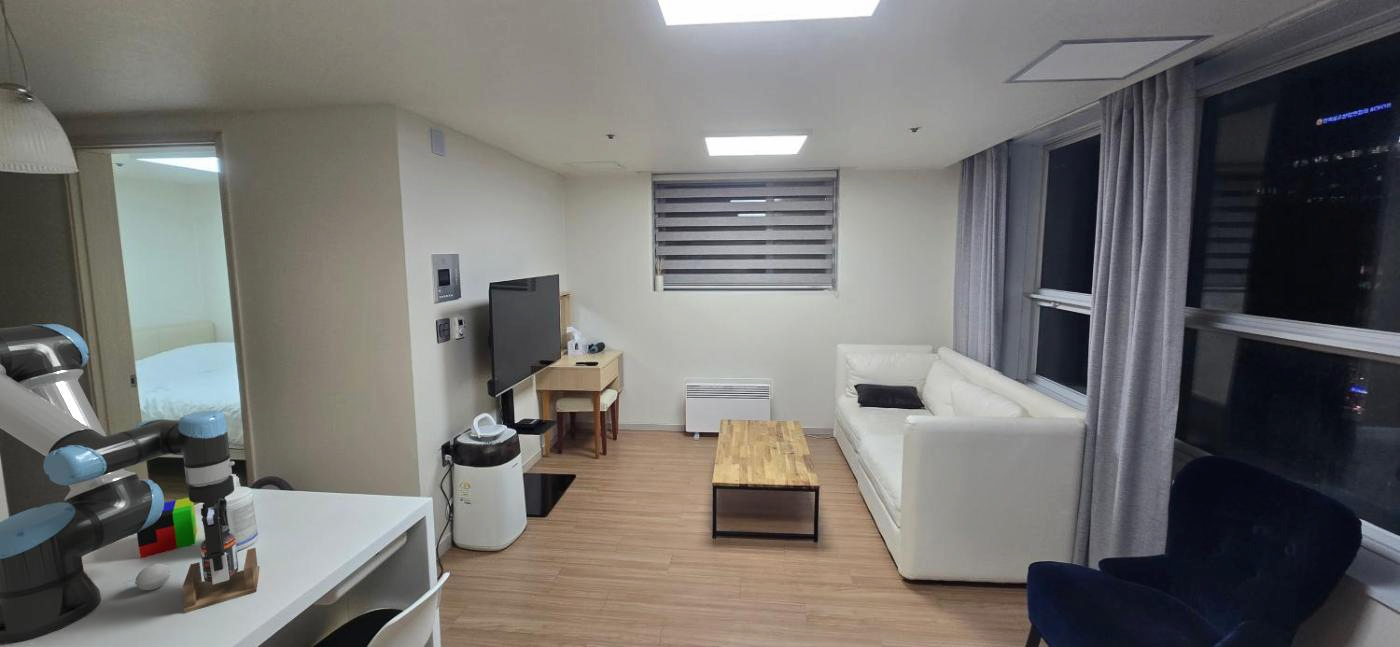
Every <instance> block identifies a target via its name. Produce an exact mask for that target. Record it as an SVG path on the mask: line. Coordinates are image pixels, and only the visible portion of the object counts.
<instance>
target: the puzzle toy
mask: <svg viewBox="0 0 1400 647" xmlns="http://www.w3.org/2000/svg"><path fill="white" fill-rule="evenodd" d="M197 532H198V527H197V519H196V511H195V503H194V502H191V501H190V500H189V497H185V498H180V499H175V500H172V501H171V500H170V501H167V502H164V508H163V511H162V514H161V516H160V518H159V519H158V520H157V521H156V522H155V523H154V524H152V525H151V526H149V527H147V528H145V529H143V530H141V531H139V532H138V533H136V536H137V543H138V549H139V557H140V559H144V558H148V557H152V556H156V555H160V554H163V553H167V552H170V551H171V552H172V551H174V550H178V549H182V548H186V547H189V546H194V545H196V539H197Z"/></svg>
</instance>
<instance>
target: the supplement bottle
mask: <svg viewBox="0 0 1400 647" xmlns="http://www.w3.org/2000/svg"><path fill="white" fill-rule="evenodd" d="M222 528H223V541H224V551H225V552H226V557H227V565H228V572H229V577H231V576H232V575H234V574H235V573H236V572H239V561H238V553H237V552H238V551H237V550H236V541H235V536H234V535H233V534H231V533H229V527H228V526H222ZM200 554H201V555H200V556H201V564H202V565H201V566H202V573H203V574H202V576H203V579H204V580H203V581H207V582H212V575H211V567H210V560H209V559H206V560H205V559H204V557H205V556H207V550H206V542H205V539H204V540H203V541H202V542H201V544H200Z"/></svg>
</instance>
